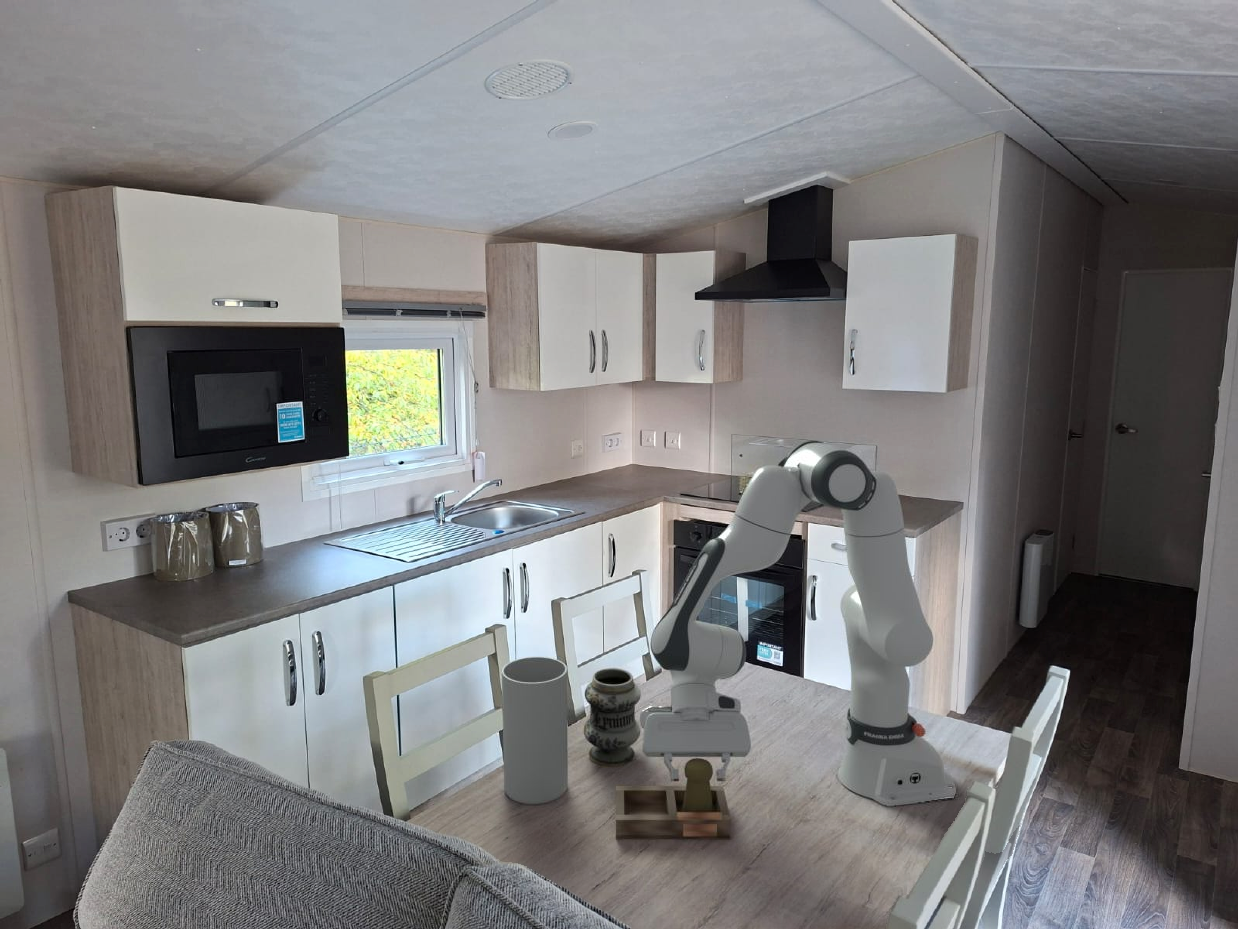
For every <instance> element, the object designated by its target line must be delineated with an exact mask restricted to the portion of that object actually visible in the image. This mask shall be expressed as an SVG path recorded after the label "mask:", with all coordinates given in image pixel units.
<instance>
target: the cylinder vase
mask: <svg viewBox="0 0 1238 929" xmlns="http://www.w3.org/2000/svg"><path fill="white" fill-rule="evenodd" d="M501 669H502V670H501V689H502V691H501V694H502V698H501V699H502V735H503V738H502V739H503V746H502V747H503V748H502V749H503V788H504V791H505V794H506V795H507V796H508V797H509V798H510V799H511V800H513V801H515V802H517V803H521V804H524V805H542V804H548V803H551V802H554V801H555V800H557V799H559V798H560V797H561V796H563V795H564V794H565V793H566V791H567V790H568V783H569V778H568V776H569V774H568V771H569V769H568V768H569V767H568V766H569V764H568V763H569V762H568V758H569V757H568V749H569V748H568V667H567V665H566V664H565V663H564V662H562V661H561V660H559V659H556V658H552V657H547V656H528V657H521V658H517V659H514V660H512V661H510V662H507V663H506V664H505V665H504V666H502V668H501Z"/></svg>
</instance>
